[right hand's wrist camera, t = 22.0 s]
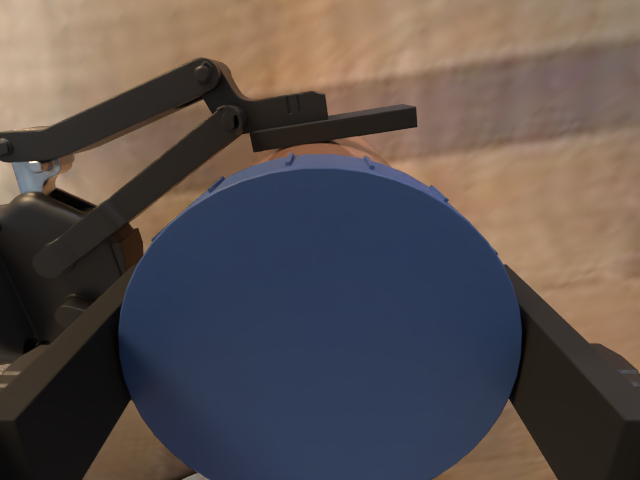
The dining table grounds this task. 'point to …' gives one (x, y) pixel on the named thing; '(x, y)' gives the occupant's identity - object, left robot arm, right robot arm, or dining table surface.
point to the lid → (320, 327)
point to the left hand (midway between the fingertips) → (417, 225)
